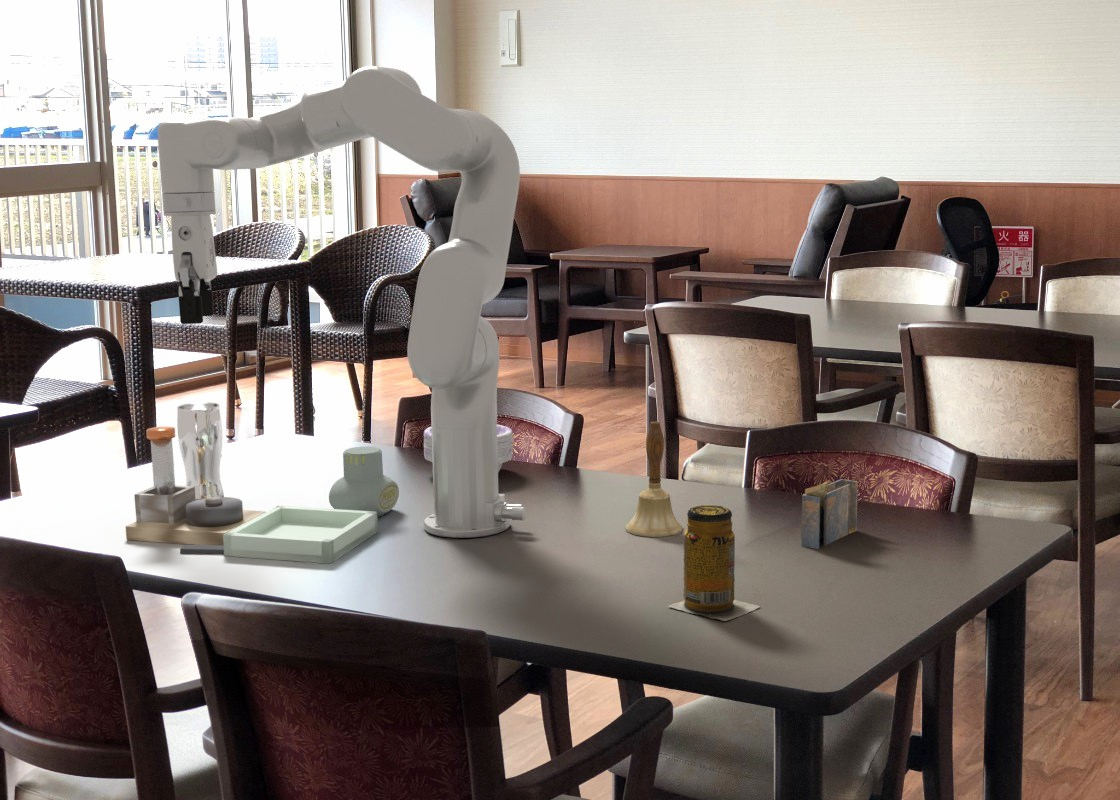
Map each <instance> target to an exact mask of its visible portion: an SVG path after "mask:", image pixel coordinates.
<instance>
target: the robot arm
mask: <svg viewBox="0 0 1120 800" xmlns="http://www.w3.org/2000/svg"><path fill="white" fill-rule="evenodd" d="M368 138H369V139H370V138H374V139H375V140H376V141H378V142H380V143H382V144H383V145H385V146H387V147H389V148H391V149H392V150H393V151H395V152H397V153H398V154H400V155H402V156H404V157H405V158H406V159H409V160H410V161H413V163H416V164H417V165H419V166H421V167H423V168H425V169H427V170H430V171H434V172H438V173H452V172H455V173H456V172H459V173H460V176H461V184H460V188H459V190H458V193H457V196H456V198H455V199H456V200H455V203H454V208H453V216H452V222H451V227H450V232H449V237H448V241H447V242H446V243H444V244H441V245H440V246H438V247H436V248H435V249H433V250H432V251H431V252H430V253H429V254H428V256H426V259H424V262H423V264H422V266H421V268H420V271H419V274H418V277H417V283H416V289H415V295H414V300H413V301H414V302H413V309H412V314H411V320H410V326H409V332H408V337H407V338H408V340H407V348H406V349H407V360H408V364H409V365H408V366H409V368H410V370H411V372H412V374H413V375H414V376H415V378H416V379H417V380H418V381H419V382H420V383H421V384H423V385H425V386H426V387H429V388H430V389H431V399H430V403H431V404H430V416H431V417H430V419H431V426H430V427H431V432H432V462H431V463H432V487H433V513H432V514H430V515H428V516H427V517H426V518H425V519H424V520H423V529H424V530H425V531H426V532H427V533H429V534H431V535H435V536H439V537H443V538H454V539H463V538H464V539H465V538H467V539H468V538H479V537H488V536H493V535H496V534H499V533H502V532H504V531H506V530H508V528H509V527H510V525H511V521H510V520H512V521H525V520H526V517H527V510H526V506H524V507H523V504H519V503H516V504H515V503H513V504H512V503H510V504H509V503H508V502H507V501H506V497H505V495H506V494H505V493H499V472H498V455H497V424H498V407H497V405H498V404H497V403H498V398H497V397H498V396H497V395H498V378H499V377H498V376H499V368H500V367H499V366H500V343H499V339H498V335H497V332H496V330H495V329H494V326H493V325H492V324H491V323H490V321H488V320H487V319H486V318H485V317H483V316H481V314H482V309H483V305H485V304H487V303H489V302H490V301H492V300H494V299H495V298H496V297H497V296H498V295H499V294H500V292H501V291H502V289H503V286H504V283H505V278H506V271H507V265H508V264H507V263H508V259H509V252H510V245H511V240H512V234H513V226H514V219H515V214H516V213H515V212H516V207H517V201H518V195H519V188H520V177H521V174H520V173H521V171H520V169H521V168H520V162H519V156H518V154H517V150H516V148H515V146H514V143H513V142H512V140H511V139H510V137H509V135H508V134H507V132H505V130H504V129H503V128H502V127H500V125H499V124H497V123H496V122H495V121H493V120H492V119H491V118H489V117H488V116H486V115H484V114H482V113H480V112H477V111H473V110H469V109H464V108H447V107H445V106H443V105H442V104H440V103H438V102H437V101H435V100H432V99H431V98H429V97H427V96H426V95H423V94H422V91H421V88H420V85H419V84H418V83H417V81H416V80H415V79H414V77H412V76H411V74H408V73H407V72H406V71H403V70H401V69H398V68H391V67H384V66H378V65H369V66H364V67H363V66H362V67H361V68H359V69H357V70H354V71H353V72H351V73H350V75H348V76H347V78H346V79H345V80H343V81H339V82H336V83H332V84H329V85H325V86H320V87H317V88H314V89H311V90H308V91H306V92H305V93H303V95H302V97H301V100H300V102H298V103H297V104H295V105H293V106H291V107H286V108H285V109H281V110H279V111H275V112H271V113H267V114H262V115H259V116H255V117H238V116H237V117H236V116H231V117H229V116H219V117H212V118H206V119H201V120H193V119H191V120H190V119H185V120H181V119H180V120H178V119H177V120H166V121H162V122H161V123H160V124H159V126H158V128H157V144H158V154H159V155H158V159H159V171H160V182H161V184H160V185H161V196H162V211H163V216H164V217H170V219H171V220H170V222H171V228H170V231H171V246H172V247H171V248H172V259H173V260H172V261H173V271H174V277H175V280H176V281H177V282H178V305H179V309H178V310H179V319H180V321H179V322H180V323H181V324H182V325H194V324H195V325H196V324H200V325H201V324H202V323H203V322H204V317H212V316H214V301H213V299H214V297H213V290H212V283H211V281H212V280H214V279H215V278H216V277H217V276H218V266H217V265H218V264H217V257H216V248H215V240H214V232H213V225H212V224H213V223H212V218H211V215H216V214H217V212H216V211H217V209H216V197H215V196H216V195H215V183H214V182H215V181H214V170H220V171H222V170H223V171H230V170H255V169H261V168H265V167H271V166H273V165H277V164H281V163H285V162H288V161H293V160H296V159H300V158H302V157H305V156H309V155H312V154H315V153H322V152H323V151H326V150H329V149H332V148H336V147H340V146H344V145H347V144H350V143H353V142H357V141H361V140H365V139H368Z"/></svg>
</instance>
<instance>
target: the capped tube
mask: <svg viewBox="0 0 1120 800" xmlns="http://www.w3.org/2000/svg"><path fill="white" fill-rule="evenodd" d="M174 438H176V429H175V427H174V426H155V427H149V428H147V429H146V439H147V440H150V449H151V450H150V451H151V452H150V453H151V463H152V465H151V466H152V476H153V477H152V478H153V486H154V494H159V495H172V494H174V493H176V490H175V486H176V479H175V478H176V477H175V464H174V451H173V450H174V448H173V447H174V446H173V439H174Z"/></svg>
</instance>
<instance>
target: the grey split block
mask: <svg viewBox="0 0 1120 800" xmlns="http://www.w3.org/2000/svg"><path fill="white" fill-rule="evenodd" d="M858 486H859V485H858V481H857V480H856V481H855V480H849V479H843V478H840V479H838V480H836V481H833V482H831V480H830V479H828V480H827V481H824V482H823V483H820V484H817V485H815V486H812V487H808V488H805V489H804V493H803V494H802V495H801V535H800V536H801V539H800V542H801V547H805V548H809V549H810V548H811V549H817V550H819V549H820V539H821V538H823V546H828V544H829V545H830V544H831V543H833V542H835V541H838V540H839V539H842V538H844V537H846V536H848V535H851V534H852V533H854V532H857V526H858V522H857V521H858V489H859V487H858Z"/></svg>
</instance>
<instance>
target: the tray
mask: <svg viewBox="0 0 1120 800" xmlns="http://www.w3.org/2000/svg"><path fill="white" fill-rule="evenodd" d="M378 524H379V523H378V517H377V512H374V511H358V510H341V509H334V508H322V507H321V508H320V507H309V506H307V507H306V506H305V507H304V506H289V505H288V506H287V505H276V506H275V507H272V508H271V509H268V510H267V511H266V512H265V513H263V514H261V515H259V516H257V517H255V518H253V519H252V520H250V521H248V522H246V523H244V524H242V525H240V526H239V527H237V528H235V529H233V530H231V531H229V532H227V533H225V534H224V535H223V544H224V554H223V556H224V557H235V558H250V559H263V560H278V561H287V562H288V561H292V562H303V563H304V562H306V563H318V564H319V563H320V564H332V563H333V562H335V561H337V560H338V559H340V558H341V557H342V556H344V555H345V554H347V553H348V552H350V551H351V550H353V549H354V548H356V547H357V546H359V545H360V544H362V543H363V542H365V541H366V540H367V539H369V538H371V537H372V536H374V535H375V534H377V533H378V531H379V528H378V527H379V526H378Z"/></svg>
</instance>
